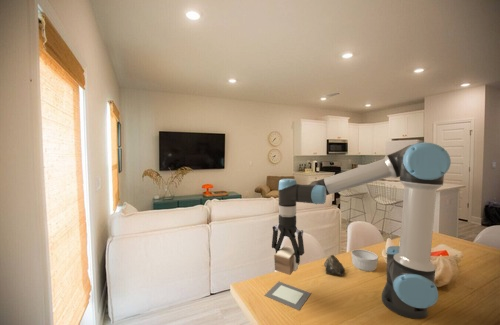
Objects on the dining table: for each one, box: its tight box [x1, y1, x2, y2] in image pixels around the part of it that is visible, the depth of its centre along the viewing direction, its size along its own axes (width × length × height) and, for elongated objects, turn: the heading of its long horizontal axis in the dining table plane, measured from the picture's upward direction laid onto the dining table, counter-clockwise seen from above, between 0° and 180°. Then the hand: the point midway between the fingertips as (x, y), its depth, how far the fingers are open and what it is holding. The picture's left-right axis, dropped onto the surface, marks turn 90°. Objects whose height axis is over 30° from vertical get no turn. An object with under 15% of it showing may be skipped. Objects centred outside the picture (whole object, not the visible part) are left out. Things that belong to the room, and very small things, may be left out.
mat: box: [263, 281, 312, 311], centre depth 96 cm, size 16×13×1 cm
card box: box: [274, 245, 301, 276], centre depth 95 cm, size 10×7×7 cm
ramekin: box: [350, 248, 379, 272], centre depth 120 cm, size 13×13×7 cm
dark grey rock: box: [323, 254, 346, 277], centre depth 114 cm, size 11×9×10 cm
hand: (287, 267), depth 95 cm, fingers closed on card box, 7 cm apart
